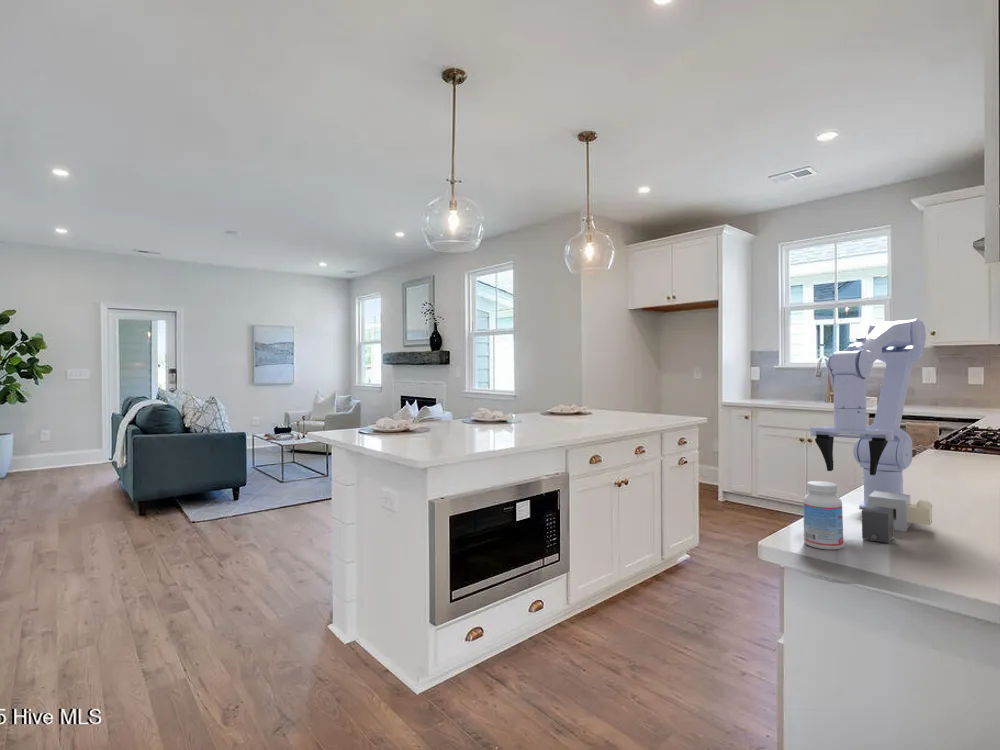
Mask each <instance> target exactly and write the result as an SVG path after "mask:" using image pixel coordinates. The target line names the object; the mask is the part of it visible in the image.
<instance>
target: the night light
mask: <svg viewBox="0 0 1000 750" xmlns="http://www.w3.org/2000/svg"><path fill="white" fill-rule="evenodd" d="M907 522H910V523H911V524H917V525H918V524H919V525H925V526H931V524H932V523H933V504H932V502H930V500H927V499H919V500H918V501H917V502H916V504H915V503H913V504H912V503H911V504H909V505H908V506H907Z"/></svg>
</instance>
